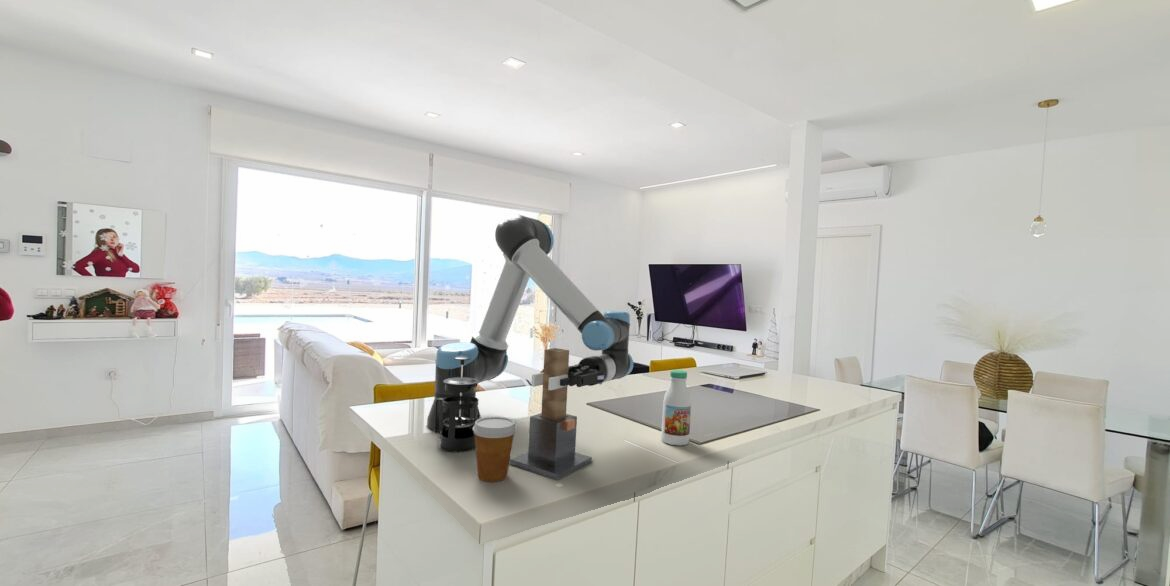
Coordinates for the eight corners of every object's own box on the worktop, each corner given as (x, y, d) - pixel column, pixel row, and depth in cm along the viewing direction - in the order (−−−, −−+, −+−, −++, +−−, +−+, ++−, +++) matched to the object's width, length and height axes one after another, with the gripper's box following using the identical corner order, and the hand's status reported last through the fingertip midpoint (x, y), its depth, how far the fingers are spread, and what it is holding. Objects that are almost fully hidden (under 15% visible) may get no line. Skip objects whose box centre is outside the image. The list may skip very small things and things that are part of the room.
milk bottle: (655, 440, 138) (659, 369, 137) (672, 435, 143) (676, 367, 143) (677, 448, 132) (681, 374, 132) (694, 443, 137) (698, 372, 137)
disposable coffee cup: (462, 474, 108) (464, 420, 107) (498, 464, 114) (500, 413, 114) (486, 489, 101) (488, 431, 100) (523, 477, 107) (525, 423, 107)
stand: (509, 464, 115) (511, 416, 115) (546, 448, 127) (548, 405, 126) (557, 479, 107) (559, 429, 107) (591, 461, 119) (594, 416, 119)
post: (539, 449, 116) (543, 349, 116) (550, 445, 120) (555, 348, 119) (553, 454, 114) (558, 351, 113) (564, 449, 117) (569, 350, 117)
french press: (485, 442, 129) (489, 355, 128) (470, 454, 120) (474, 361, 119) (444, 437, 131) (447, 352, 131) (426, 449, 122) (430, 357, 121)
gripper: (623, 389, 127) (571, 405, 107) (569, 378, 136) (512, 392, 117) (624, 360, 126) (573, 371, 107) (570, 351, 136) (513, 360, 117)
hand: (541, 382), depth 112 cm, fingers closed on post, 4 cm apart
